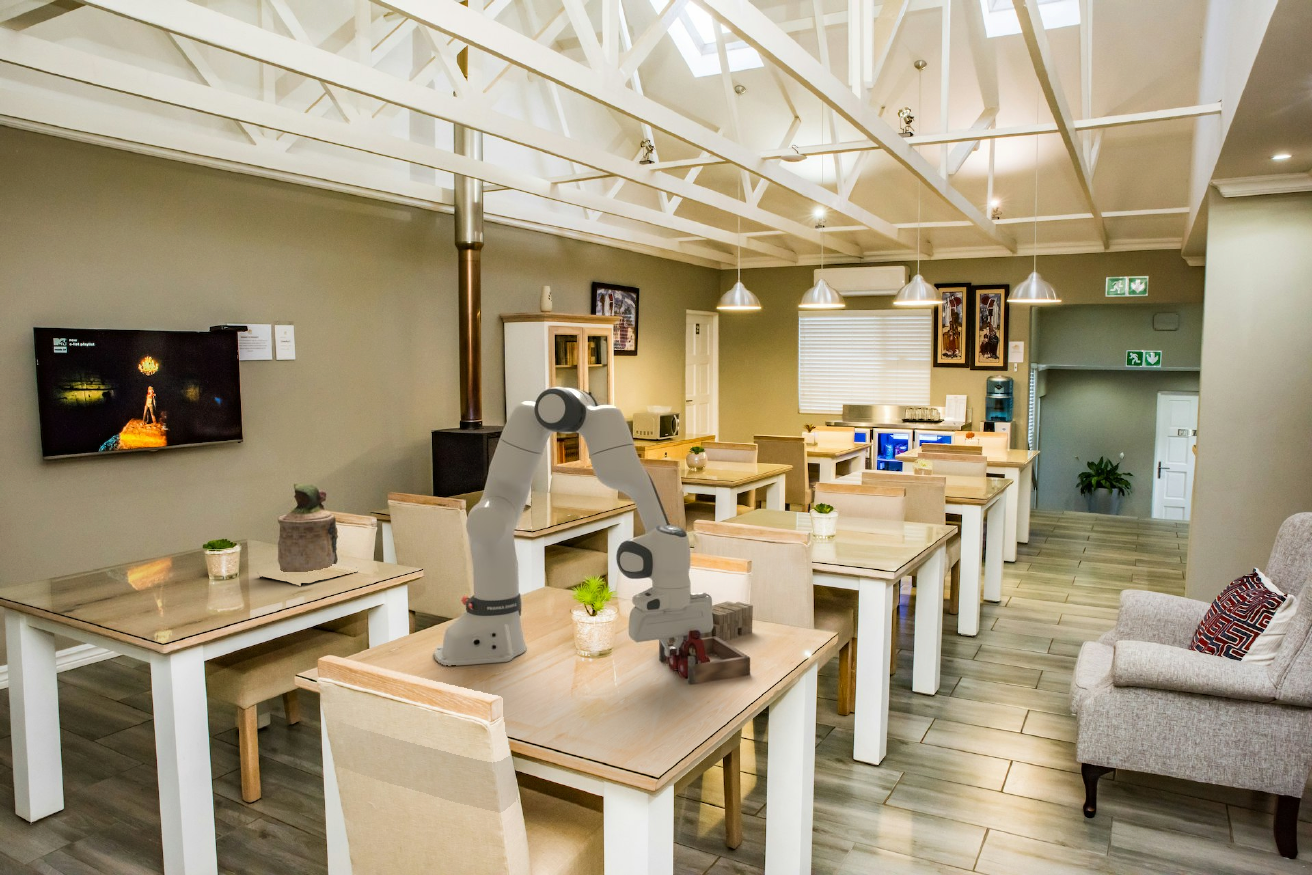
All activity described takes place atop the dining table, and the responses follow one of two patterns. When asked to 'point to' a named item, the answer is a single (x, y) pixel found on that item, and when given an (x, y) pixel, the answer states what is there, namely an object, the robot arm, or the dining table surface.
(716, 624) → the block tower
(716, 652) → the bay
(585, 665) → the dining table surface
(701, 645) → the toy fire truck
